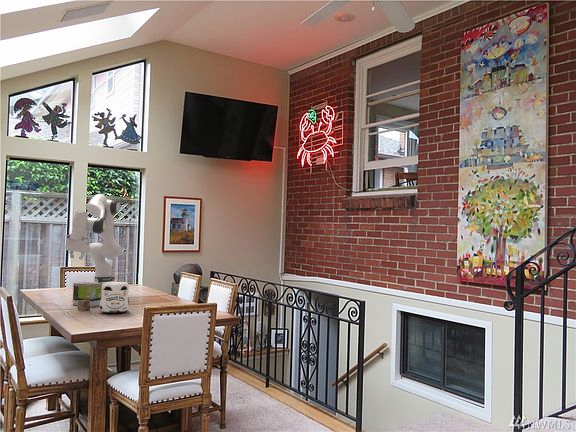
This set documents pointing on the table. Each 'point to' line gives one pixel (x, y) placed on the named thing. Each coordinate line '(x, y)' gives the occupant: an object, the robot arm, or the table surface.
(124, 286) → the milk container
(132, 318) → the table surface
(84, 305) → the walnut block
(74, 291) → the tea box
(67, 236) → the robot arm
